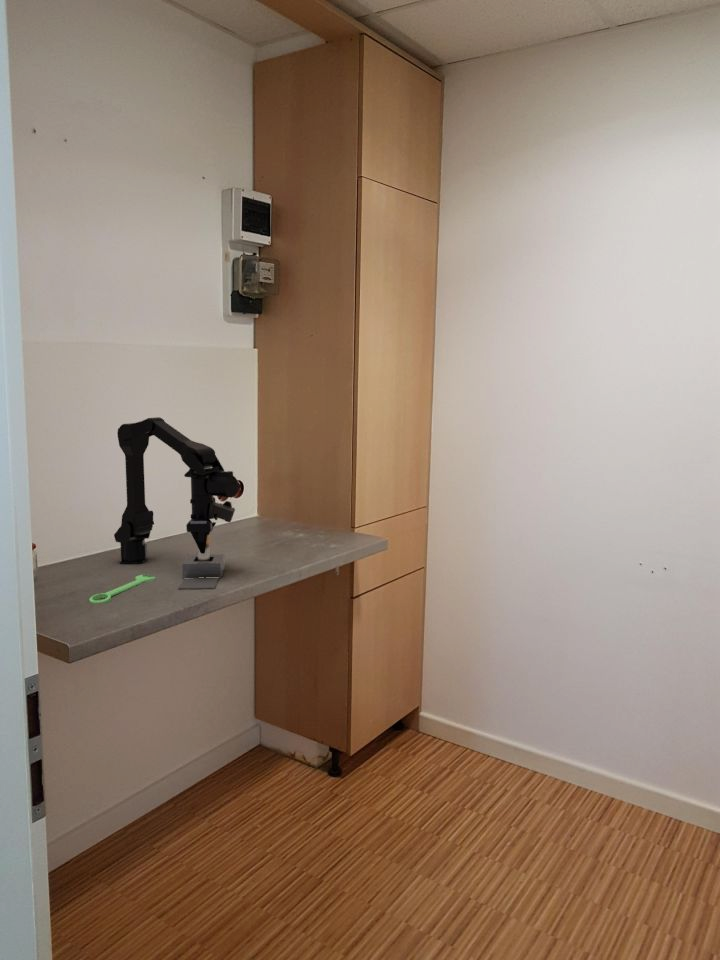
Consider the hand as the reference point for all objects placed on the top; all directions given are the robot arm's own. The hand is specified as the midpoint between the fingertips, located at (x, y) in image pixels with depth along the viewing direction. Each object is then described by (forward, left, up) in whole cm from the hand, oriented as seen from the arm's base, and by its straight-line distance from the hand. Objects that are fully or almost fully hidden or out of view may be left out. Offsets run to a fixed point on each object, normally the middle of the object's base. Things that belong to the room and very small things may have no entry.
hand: (203, 551), depth 214 cm
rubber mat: (0, -11, -6) cm, 13 cm away
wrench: (-18, -14, -7) cm, 24 cm away
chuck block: (0, 0, -6) cm, 6 cm away
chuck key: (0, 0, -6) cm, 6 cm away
